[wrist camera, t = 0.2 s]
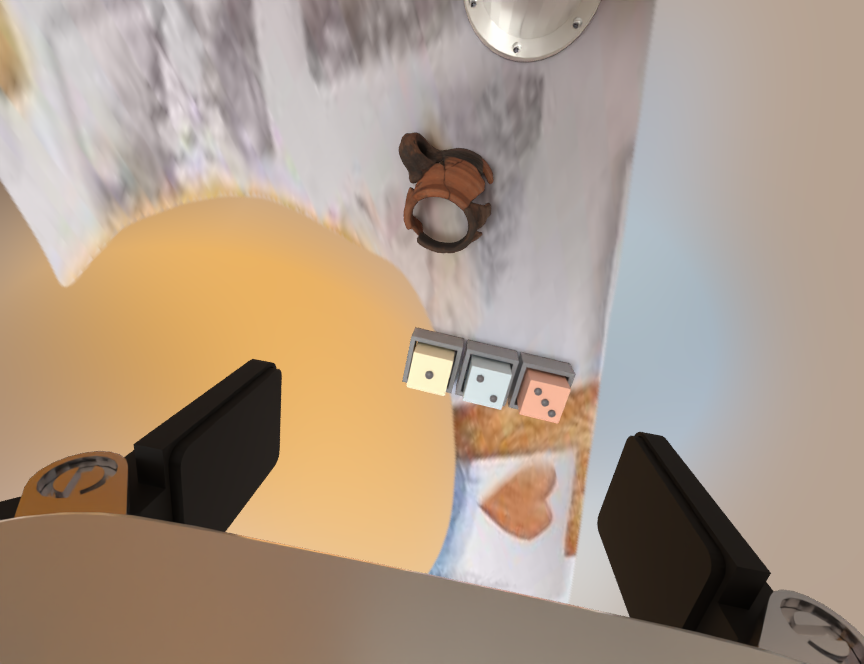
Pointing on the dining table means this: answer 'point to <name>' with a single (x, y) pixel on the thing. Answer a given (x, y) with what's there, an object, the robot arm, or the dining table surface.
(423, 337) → the tile one base
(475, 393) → the button two
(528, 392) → the button three
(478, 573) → the dining table surface
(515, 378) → the tile base
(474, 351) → the tile two base
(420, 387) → the button one
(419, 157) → the pottery mug
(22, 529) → the robot arm
